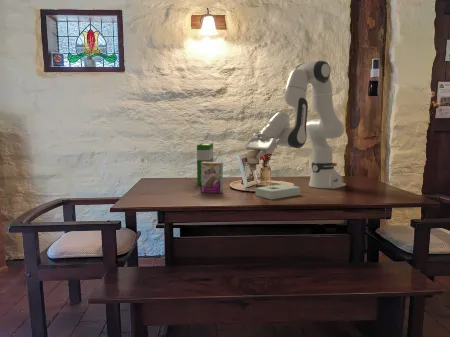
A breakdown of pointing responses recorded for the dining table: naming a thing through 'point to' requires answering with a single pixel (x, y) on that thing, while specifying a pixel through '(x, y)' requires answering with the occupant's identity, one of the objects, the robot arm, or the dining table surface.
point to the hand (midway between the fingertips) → (252, 157)
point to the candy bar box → (211, 177)
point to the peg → (252, 159)
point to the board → (277, 191)
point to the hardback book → (203, 157)
